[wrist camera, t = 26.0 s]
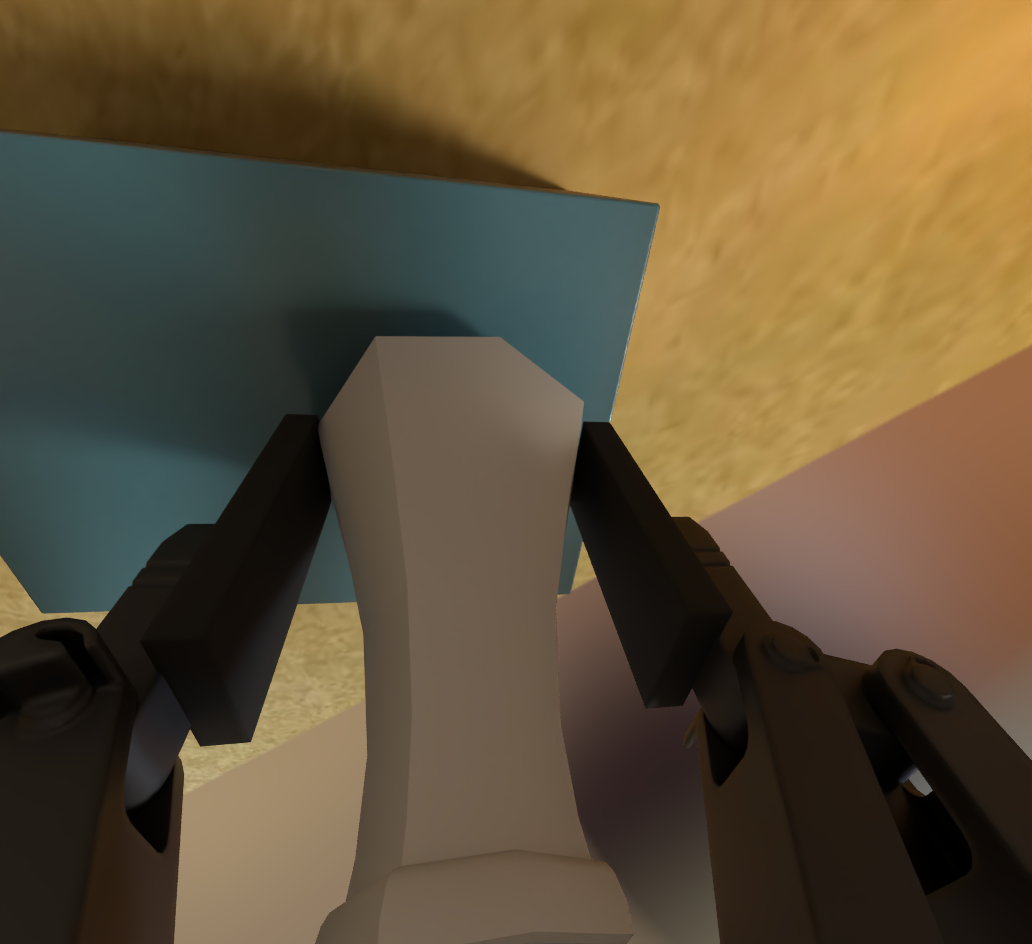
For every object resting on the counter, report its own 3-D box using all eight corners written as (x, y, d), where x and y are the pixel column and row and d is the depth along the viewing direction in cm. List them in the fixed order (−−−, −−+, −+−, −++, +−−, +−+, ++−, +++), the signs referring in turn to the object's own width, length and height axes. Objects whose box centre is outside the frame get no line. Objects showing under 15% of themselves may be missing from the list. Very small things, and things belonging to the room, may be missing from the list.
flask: (625, 377, 12) (1016, 830, 4) (526, 565, 16) (617, 1013, 7) (343, 280, 10) (-174, 857, 2) (302, 525, 13) (73, 1098, 5)
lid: (56, 598, 16) (41, 614, 15) (-279, 99, 8) (-334, 94, 8) (566, 581, 18) (570, 595, 18) (651, 202, 11) (661, 204, 11)
